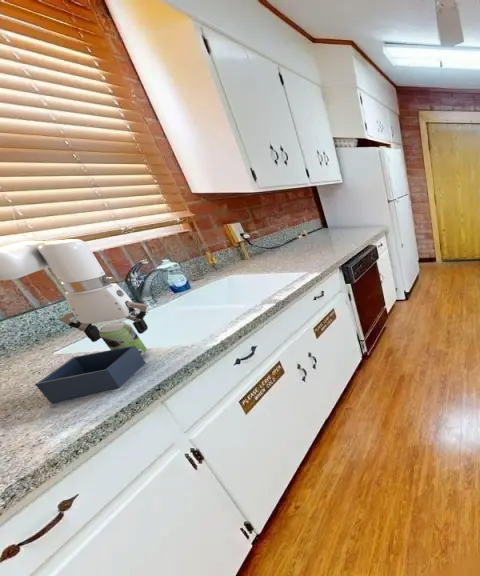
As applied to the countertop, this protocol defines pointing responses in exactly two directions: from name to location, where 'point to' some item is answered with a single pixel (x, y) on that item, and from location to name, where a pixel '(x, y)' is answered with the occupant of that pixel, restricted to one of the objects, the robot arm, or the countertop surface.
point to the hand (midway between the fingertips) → (121, 335)
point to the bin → (91, 374)
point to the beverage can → (121, 337)
